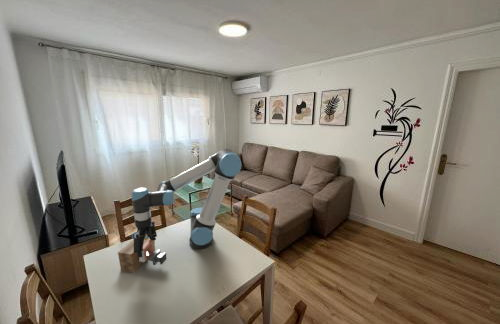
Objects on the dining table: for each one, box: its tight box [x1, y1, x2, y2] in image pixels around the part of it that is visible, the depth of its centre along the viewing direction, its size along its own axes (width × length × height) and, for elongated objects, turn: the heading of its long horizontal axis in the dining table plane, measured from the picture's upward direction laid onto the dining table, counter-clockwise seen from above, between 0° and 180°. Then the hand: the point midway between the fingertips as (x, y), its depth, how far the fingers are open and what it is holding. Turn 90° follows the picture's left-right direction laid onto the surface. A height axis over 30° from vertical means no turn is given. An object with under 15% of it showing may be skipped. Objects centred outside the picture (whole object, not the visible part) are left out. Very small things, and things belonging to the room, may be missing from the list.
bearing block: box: [117, 239, 148, 273], centre depth 111 cm, size 8×12×11 cm, turn 169°
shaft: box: [137, 249, 167, 266], centre depth 109 cm, size 18×5×5 cm, turn 79°
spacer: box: [143, 239, 156, 262], centre depth 109 cm, size 3×8×8 cm, turn 169°
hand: (147, 255), depth 109 cm, fingers closed on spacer, 8 cm apart
